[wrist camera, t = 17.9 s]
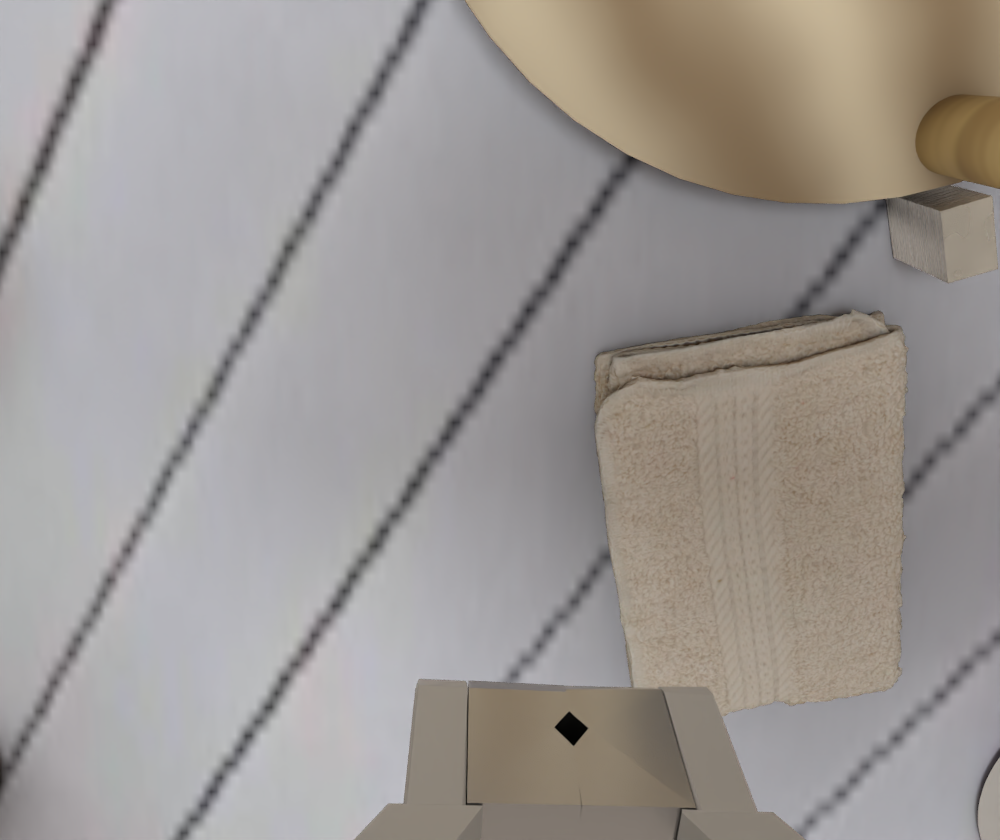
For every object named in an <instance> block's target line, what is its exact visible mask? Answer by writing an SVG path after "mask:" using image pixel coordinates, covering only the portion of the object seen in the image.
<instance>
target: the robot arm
mask: <svg viewBox="0 0 1000 840" xmlns="http://www.w3.org/2000/svg"><path fill="white" fill-rule="evenodd" d="M467 693H468V695H467ZM978 827H979V833H980V837H981V840H1000V757H999V759H998V760H997V762H996V763H995V765H994V767H993V768H992V770H991V772H990V774H989V776H988V778H987V780H986V782H985V785H984V787H983V790H982V793H981V797H980V802H979V807H978ZM354 840H806V839H804V838H803V837H802V836H801V835H800V834H798V833H797V832H796V831H795V830H794V829H792V828H791V827H790V826H789V825H788V824H786V823H785V822H784V821H783V820H782V819H781V818H779V817H778V816H777V815H776V814H775V813H773V812H758V811H757V808H756V806H755V803H754V800H753V798H752V795H751V792H750V790H749V787H748V784H747V782H746V779H745V777H744V774H743V771H742V769H741V766H740V763H739V761H738V758H737V755H736V753H735V750H734V748H733V745H732V742H731V740H730V737H729V734H728V732H727V729H726V726H725V724H724V721H723V718H722V716H721V713H720V711H719V708H718V705H717V703H716V700H715V697H714V695H713V693H712V692H711V691H710V690H709V689H708V688H707V687H658V688H642V687H597V686H564V685H546V684H526V683H507V682H488V681H469V682H468V687H467V682H466V681H454V680H432V679H419V680H418V683H417V686H416V689H415V698H414V707H413V717H412V727H411V736H410V746H409V756H408V765H407V775H406V785H405V794H404V804H387V805H386V806H385V807H384V808H383V809H382V811H381V812H380V813H379V814H378V815H377V816H376V817H375V818H374V819H373V820H372V821H371V822H370V823H369V824H368V825H367V826H366V827H365V829H364V830H363V831H362V832H361V833H360V834H359V835H358V836H357V837H356V838H355V839H354Z"/></svg>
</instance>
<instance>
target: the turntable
mask: <svg viewBox="0 0 1000 840" xmlns="http://www.w3.org/2000/svg"><path fill="white" fill-rule="evenodd" d="M465 2H466V3H467V5H468V6H469V8H470V9H471V11H472V12H473V13H474V15H475V16H476V18H477V19H478V21H479V22H480V24H481V25H482V27H483V28H484V30H485V31H486V33H487V34H488V35H489V37H490V38H491V39H492V40H493V41H494V43H495V44H496V45H497V46H498V47H499V48H500V49H501V50H502V52H503V53H504V54H505V55H506V56H507V57H508V58H509V59H510V61H511V62H512V63H513V64H514V65H515V66H516V67H517V68H518V70H519V71H520V72H521V73H522V74H523V75H524V76H525V77H526V79H527V80H528V81H529V82H530V83H531V84H532V85H534V86H535V87H536V88H537V89H538V90H539V91H541V92H542V93H543V94H544V95H545V96H546V97H547V98H549V99H550V100H551V101H552V102H553V103H554V104H556V105H557V106H558V107H559V108H560V109H561V110H563V111H564V112H565V113H566V114H567V115H568V116H569V117H571V118H572V119H573V120H574V121H576V122H578V123H579V124H581V125H582V126H584V127H585V128H587V129H588V130H590V131H591V132H593V133H595V134H596V135H598V136H599V137H601V138H602V139H604V140H605V141H607V142H608V143H610V144H612V145H613V146H615V147H616V148H618V149H619V150H621V151H622V152H624V153H626V154H627V155H630V156H632V157H634V158H636V159H638V160H640V161H643V162H645V163H647V164H649V165H651V166H653V167H655V168H658V169H660V170H662V171H664V172H666V173H668V174H671V175H673V176H675V177H677V178H680V179H683V180H686V181H690V182H693V183H696V184H699V185H703V186H706V187H709V188H713V189H716V190H719V191H723V192H726V193H729V194H733V195H740V196H746V197H753V198H759V199H766V200H772V201H779V202H785V203H834V204H845V203H854V202H862V201H871V200H879V199H887V198H896V197H903V196H907V195H911V194H915V193H919V192H923V191H927V190H931V189H935V188H939V187H943V186H947V185H951V184H955V183H959V182H962V181H964V180H965V181H969V182H973V183H977V184H981V185H986V186H990V187H994V188H998V189H1000V0H465Z"/></svg>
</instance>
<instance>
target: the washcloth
mask: <svg viewBox="0 0 1000 840" xmlns="http://www.w3.org/2000/svg"><path fill="white" fill-rule="evenodd" d="M904 341H905V335H904V334H903V331H902V328H901V327H900V326H898V325H885V321H884V315H883V313H882V312H880V311H875V312H873V313H871V314H870V315H867V314H865V313H861V312H858V311H856V310H853V309H852V311H851V313H850V314H843V315H842V316H839V317H835V316H830V315H814V316H802V317H794V318H791V319H781V320H775V321H768V322H762V323H759V324H756V325H749V326H747V327H742V328H738V329H735V330H732V331H726V332H723V333H716V334H711V335H702V336H693V337H684V338H678V339H672V340H669V341H664V342H657V343H651V344H645V345H641V346H635V347H629V348H624V349H616V350H614V351H609V352H602V353H600V354H598V355H597V357H596V359H595V361H594V364H595V366H596V370H595V373H594V380H595V382H596V387H595V390H596V398H595V403H594V409H595V413H596V414H597V417H596V421H595V425H594V430H595V440H596V447H597V456H598V463H599V470H600V477H601V484H602V493H603V500H604V503H605V518H606V527H607V538H608V546H609V551H610V556H611V562H612V565H613V573H614V577H615V583H616V586H617V593H618V598H619V607H620V618H621V623H622V627H623V629H624V634H625V641H626V652H627V658H628V667H629V673H630V680H631V686H632V687H642V688H658V687H707V688H708V689H709V690H710V691H711V692H712V693H713V695H714V697H715V700H716V703H717V705H718V708H719V711H720V713H721V716H726V715H727V714H728V713H729V712H735V711H739V710H742V709H744V708H745V709H752V708H756V707H758V706H764V705H768V704H771V703H772V702H774V701H777V702H784V703H785V704H788V705H789V706H794V705H796V704H804V703H805V702H807V701H809V702H819V701H831V700H833V699H837V698H848V697H850V696H859V695H861V694H864V693H873V692H878V691H886V690H887V689H889V688H892V687H893V685H894V683H896V682H897V681H898V677H899V676H900V675H901V674H902V668H900V667H898V662H899V661H900V655H901V646H900V645H901V640H900V638H899V637H900V632H899V631H900V630H901V629H902V625H901V622H902V620H901V613H900V611H899V608H900V607H901V606H902V595H901V592H900V590H901V583H900V577H901V574H902V570H903V568H902V565H901V554H902V548H903V542H904V540H905V539H906V536H905V535H904V532H903V529H902V526H903V521H902V517H903V506H904V505H903V499H902V494H903V492H904V491H905V487H904V484H905V483H904V482H903V472H902V460H903V451H904V449H905V446H904V444H903V442H904V434H903V431H904V429H903V425H902V424H903V416H905V415H906V413H905V396H904V395H905V393H907V392H908V389H907V387H906V384H907V376H908V375H907V372H906V371H905V368H906V361H907V357H906V353H907V351H908V349H909V348H908V347H906V346H905V344H904Z"/></svg>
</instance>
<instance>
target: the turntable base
mask: <svg viewBox="0 0 1000 840" xmlns="http://www.w3.org/2000/svg"><path fill="white" fill-rule="evenodd" d="M886 203H887V211H888V219H889V227H890V235H891V243H892V251H893V258H895V259H897V260H900V261H902V262H904V263H906V264H908V265H910V266H912V267H914V268H917V269H919V270H921V271H923V272H925V273H927V274H929V275H932V276H934V277H936V278H938V279H940V280H942V281H944V282H946V283H951V282H954V281H958V280H961V279H965V278H968V277H972V276H975V275H979V274H982V273H985V272H989V271H992V270H996V269H998V262H997V250H996V237H995V224H994V211H993V199H992V196H990V195H986V194H983V193H979V192H975V191H971V190H967V189H963V188H959V187H955V186H951V185H947V186H943V187H939V188H935V189H931V190H927V191H923V192H919V193H915V194H911V195H907V196H903V197H896V198H887V199H886Z"/></svg>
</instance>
